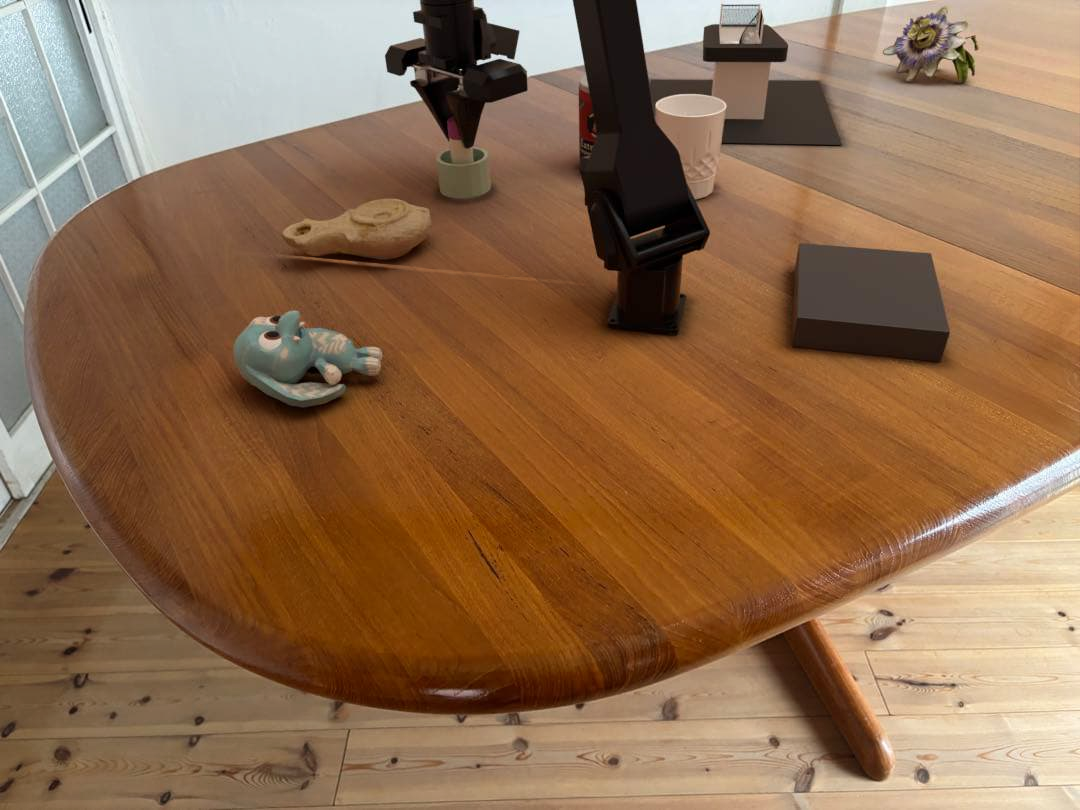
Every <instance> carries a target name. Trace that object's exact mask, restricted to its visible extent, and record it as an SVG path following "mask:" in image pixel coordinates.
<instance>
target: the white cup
mask: <svg viewBox="0 0 1080 810" xmlns="http://www.w3.org/2000/svg"><path fill="white" fill-rule="evenodd" d="M725 113H726V103H725V102H724V101H722V100H721V99H718V98H716V97H712V96H707V95H700V94H680V95H673V96H668V97H665V98H663V99H660V100H659V101H658V102H657V103H656V105H655V120H656V123H657V124H658V126H659V127H660V128H661V129H662V131H663V132H664V133H665V134H666V136H667V137H668V138H669V139H670V141H671V142H672V143H673V144H674V145H675V147H676V148H677V149H678V151H679V155H680V159H681V162H682V166H683V170H684V174H685V178H686V182H687V184H688V186H689V188H690V190H691V192H692V194H693V197H694V199H695V201H697V200H700V199H703V198H707V197H709V195H711V194H712V193H713V191H714V186H715V178H716V173H717V172H716V171H717V169H718V164H719V159H720V154H721V153H720V152H721V147H722V143H721V142H722V134H723V127H724V121H725Z"/></svg>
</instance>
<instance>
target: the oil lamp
mask: <svg viewBox="0 0 1080 810" xmlns="http://www.w3.org/2000/svg"><path fill="white" fill-rule="evenodd" d="M432 227H433V226H432V217H431V213H430V209H429V208H427V207H424V206H417V205H414V204H411V203H408V202H407V201H405V200H403V199H398V198H382V199H381V198H380V199H374V200H370V201H367V202H365V203H362V204H360V205H358V206H357V207H356V208H349V209H347V210H346V211H344V212H343V213H342V214H341V215H339V216H337V217H335V218H332V219H327V220H314V219H311V218H307V217H305V218H303V220H302V221H300V222H296V223H293V224H291V225H289V226H288V227H286V228H285V229H283V230H282V231H281V237H282V239H283V241H284V242H285V243H286V245H288V246H289V247H291V248H293V249H295V250H297V251H300V252H302V253H305V254H306V255H309V256H312V257H321V256H325V255H330V254H346V255H352V256H358V257H363V258H370V259H375V260H390V259H395V258H399V257H403V256H405V255H407V254H408V253H410V252H411V251H412V249H413V248H414V247H415V248H416V246H418V245H419V244H421V243H422V242H423V241H425V240H426V239H427V238H428V237H429V235H430V233H431V231H432Z"/></svg>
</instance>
